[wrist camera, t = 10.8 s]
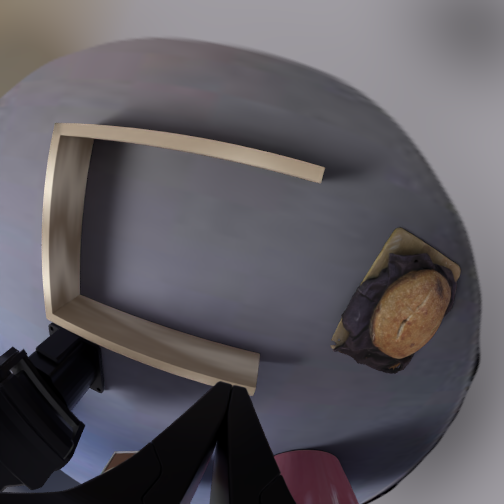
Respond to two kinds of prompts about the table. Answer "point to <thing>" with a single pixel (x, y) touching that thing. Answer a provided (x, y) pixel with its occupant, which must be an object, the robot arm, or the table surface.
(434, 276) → the bread roll
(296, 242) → the table surface
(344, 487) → the plant pot
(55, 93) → the table surface
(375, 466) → the table surface
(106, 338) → the frame
